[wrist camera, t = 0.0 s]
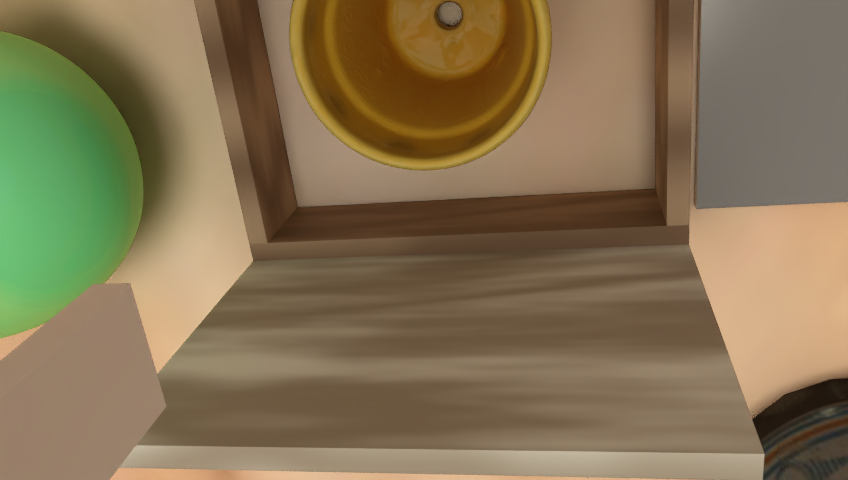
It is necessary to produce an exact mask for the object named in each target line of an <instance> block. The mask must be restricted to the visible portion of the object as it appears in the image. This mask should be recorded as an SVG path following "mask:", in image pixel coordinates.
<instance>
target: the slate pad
mask: <svg viewBox="0 0 848 480" xmlns="http://www.w3.org/2000/svg"><path fill="white" fill-rule="evenodd" d="M832 202H848V0H699V37H698V80H697V122H696V164H695V207H696V209H704V208H725V207H747V206H768V205H789V204H810V203H832Z"/></svg>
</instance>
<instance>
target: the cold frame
mask: <svg viewBox="0 0 848 480" xmlns="http://www.w3.org/2000/svg"><path fill="white" fill-rule="evenodd" d="M194 3H195V7H196V11H197V16H198V20H199V24H200V29H201V33H202V38H203V42H204V46H205V51H206V55H207V60H208V64H209V68H210V73H211V77H212V81H213V86H214V90H215V95H216V99H217V103H218V108H219V112H220V117H221V121H222V125H223V130H224V134H225V139H226V143H227V147H228V152H229V156H230V160H231V165H232V169H233V174H234V178H235V182H236V187H237V191H238V196H239V200H240V204H241V209H242V213H243V217H244V222H245V226H246V231H247V235H248V239H249V244H250V248H251V253H252V257H253V262H252V263H251V264H250V266H249V267H248V268H247V269H246V270H245V272H244V273H243V274H242V275H241V276H240V277H239V279H238V280H237V281H236V282H235V283H234V284H233V286H232V287H231V288H230V289H229V290H228V292H227V293H226V294H225V295H224V296H223V297H222V299H221V300H220V301H219V302H218V303H217V305H216V306H215V307H214V308H213V309H212V310H211V312H210V313H209V314H208V315H207V316H206V317H205V319H204V320H203V321H202V322H201V323H200V325H199V326H198V327H197V328H196V329H195V330H194V332H193V333H192V334H191V335H190V336H189V338H188V339H187V340H186V341H185V342H184V343H183V345H182V346H181V347H180V348H179V349H178V350H177V352H176V353H175V354H174V355H173V356H172V358H171V359H170V360H169V361H168V362H167V363H166V365H165V366H164V367H163V368H162V369H161V370H160V372H159V373H158V374H157V376H158V379H159V383H160V386H161V389H162V393H163V396H164V400H165V403H166V408H165V409H164V410H163V411H162V413H161V414H160V415H159V417H158V418H157V419H156V420H155V422H154V423H153V424H152V426H151V427H150V428H149V429H148V431H147V432H146V433H145V435H144V436H143V437H142V438H141V440H140V441H139V442H138V444H137V445H136V446H135V447H134V449H133V450H132V451H131V453H130V454H129V455H128V456H127V458H126V459H125V460H124V462H123V463H122V464H121V466H120V467H119V468H158V469H208V470H257V471H307V472H356V473H406V474H455V475H505V476H554V477H604V478H653V479H703V480H763V469H764V455H765V454H764V451H763V448H762V445H761V443H760V440H759V437H758V434H757V432H756V429H755V426H754V423H753V421H752V418H751V415H750V412H749V409H748V407H747V404H746V401H745V398H744V396H743V393H742V390H741V387H740V385H739V382H738V379H737V376H736V374H735V371H734V368H733V365H732V362H731V360H730V357H729V354H728V351H727V349H726V346H725V343H724V340H723V338H722V335H721V332H720V329H719V326H718V324H717V321H716V318H715V315H714V313H713V310H712V307H711V304H710V302H709V299H708V296H707V293H706V291H705V288H704V285H703V282H702V279H701V277H700V274H699V271H698V268H697V266H696V263H695V260H694V257H693V255H692V252H691V249H690V246H689V211H690V163H691V116H692V68H693V20H694V0H656V65H655V189H645V190H626V191H607V192H588V193H569V194H550V195H531V196H512V197H493V198H474V199H455V200H435V201H416V202H397V203H378V204H359V205H340V206H321V207H302V208H297V203H296V198H295V193H294V187H293V182H292V177H291V172H290V167H289V162H288V157H287V152H286V147H285V142H284V137H283V132H282V126H281V121H280V116H279V111H278V106H277V101H276V96H275V91H274V86H273V81H272V76H271V71H270V65H269V60H268V55H267V50H266V45H265V40H264V35H263V30H262V25H261V20H260V15H259V10H258V4H257V0H194Z"/></svg>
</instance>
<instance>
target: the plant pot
mask: <svg viewBox="0 0 848 480" xmlns="http://www.w3.org/2000/svg"><path fill="white" fill-rule="evenodd" d="M446 2H454V3H456V4H458V5H459V6H460V8H461V9H462V19H461V21H460V23H459V24H458V25H456V26H454V27H447V26H445V25H443V24H441V22H440V21H439V20H438V17H437V11H438V8H439V7H440V6H441V5H442V4H443V3H446ZM289 37H290V50H291V57H292V62H293V66H294V70H295V73H296V77H297V80H298V82H299V85H300V87H301V89H302V92H303V94H304V96H305V98H306V99H307V101H308V103H309V105H310V106H311V108H312V110H313V111H314V113H315V114H316V115H317V117H318V118H319V119H320V121H321V122H322V123H323V124H324V125H325V127H326V128H327V129H328V130H329V131H330V132H331V133H332V134H333V135H334V136H336V137H337V138H338V139H339V140H340V141H341V142H343V143H344V144H345V145H347V146H348V147H350V148H351V149H353V150H354V151H356V152H358V153H359V154H361V155H363V156H365V157H367V158H369V159H371V160H374V161H376V162H379V163H382V164H385V165H389V166H392V167H396V168H402V169H409V170H438V169H446V168H451V167H455V166H459V165H462V164H466V163H468V162H471V161H473V160H476V159H478V158H480V157H482V156H484V155H486V154H487V153H489V152H491V151H492V150H494V149H496V148H497V147H498V146H499V145H501V144H502V143H503V142H505V141H506V140H507V139H508V138H509V137H510V136H512V135H513V134H514V133H515V132H516V130H517V129H518V128H519V127H520V126H521V125H522V124H523V122H524V121H525V120H526V118H527V117H528V116H529V114H530V112H531V111H532V109H533V107H534V106H535V104H536V102H537V100H538V98H539V96H540V93H541V91H542V88H543V86H544V83H545V79H546V76H547V72H548V68H549V62H550V56H551V45H552V33H551V20H550V13H549V8H548V4H547V0H293V4H292V9H291V15H290V28H289Z"/></svg>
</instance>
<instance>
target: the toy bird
mask: <svg viewBox="0 0 848 480" xmlns="http://www.w3.org/2000/svg"><path fill="white" fill-rule="evenodd" d="M143 192H144V191H143V175H142V168H141V163H140V159H139V155H138V151H137V148H136V145H135V142H134V139H133V137H132V134H131V132H130V130H129V128H128V126H127V124H126V122H125V120H124V118H123V117H122V115H121V113H120V112H119V110H118V109H117V107H116V106H115V104H114V103H113V102H112V100H111V99H110V98H109V97H108V95H107V94H106V93H105V92H104V91H103V90H102V88H101V87H100V86H99V85H98V84H97V83H96V82H95V81H94V80H93V79H92V78H91V77H90V76H89V75H87V74H86V73H85V72H84V71H83V70H82V69H80V68H79V67H78V66H77V65H75V64H74V63H73V62H71V61H70V60H68V59H67V58H65V57H64V56H62V55H61V54H59V53H57V52H55V51H54V50H52V49H50V48H48V47H46V46H44V45H42V44H40V43H37V42H35V41H33V40H30V39H27V38H25V37H22V36H18V35H15V34H11V33H8V32H3V31H0V338H3V337H7V336H11V335H14V334H18V333H21V332H24V331H27V330H29V329H32V328H35V327H37V326H40V325H42V324H44V323H46V322H48V321H49V320H50V319H52V318H53V317H54V316H55V315H57V314H58V313H59V312H60V311H61V310H63V309H64V308H65V307H66V306H67V305H69V304H70V303H71V302H72V301H73V300H75V299H76V298H77V297H78V296H80V295H81V294H82V293H83V292H84V291H86V290H87V289H88V288H89V287H90V286H92V285H93V284H104V283H105V282H106V281H107V280H108V278H109V277H110V276H111V275H112V274H113V273H114V272H115V270H116V269H117V268H118V266H119V265H120V264H121V262H122V261H123V259H124V258H125V256H126V254H127V253H128V251H129V249H130V247H131V245H132V243H133V241H134V238H135V236H136V233H137V230H138V227H139V223H140V219H141V214H142V208H143Z"/></svg>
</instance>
